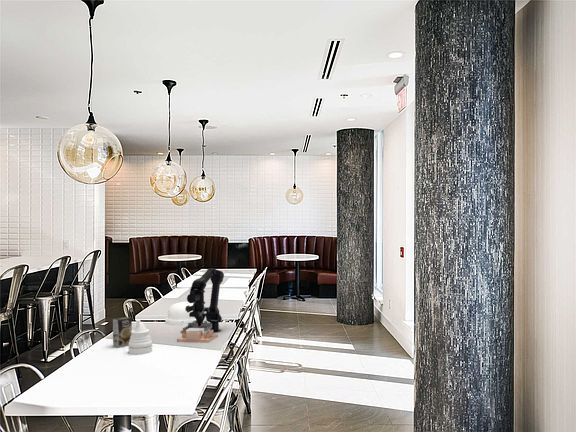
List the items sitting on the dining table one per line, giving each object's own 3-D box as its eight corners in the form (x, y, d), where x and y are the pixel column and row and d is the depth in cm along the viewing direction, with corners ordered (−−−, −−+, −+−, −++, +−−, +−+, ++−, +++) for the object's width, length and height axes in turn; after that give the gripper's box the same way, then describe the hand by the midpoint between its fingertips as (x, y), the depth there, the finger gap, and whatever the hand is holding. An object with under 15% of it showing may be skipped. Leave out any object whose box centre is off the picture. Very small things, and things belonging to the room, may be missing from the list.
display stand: (187, 335, 351) (187, 327, 351) (217, 336, 346) (217, 327, 346) (177, 341, 335) (176, 332, 335) (208, 342, 331) (207, 333, 331)
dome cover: (204, 325, 383) (203, 305, 383) (160, 326, 383) (160, 306, 383) (210, 317, 415) (210, 298, 415) (170, 318, 415) (169, 299, 415)
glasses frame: (189, 327, 348) (189, 320, 348) (212, 327, 344) (212, 320, 344) (182, 330, 338) (182, 323, 338) (205, 331, 334) (205, 324, 334)
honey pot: (146, 354, 305) (145, 321, 305) (124, 354, 307) (123, 321, 307) (156, 349, 317) (155, 317, 317) (135, 348, 320) (134, 317, 320)
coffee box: (119, 347, 323) (118, 320, 323) (112, 346, 327) (112, 319, 327) (132, 344, 330) (131, 317, 330) (125, 343, 334) (125, 316, 334)
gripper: (193, 298, 356) (193, 322, 356) (180, 303, 337) (181, 328, 338) (209, 298, 353) (210, 323, 353) (198, 303, 335) (198, 329, 335)
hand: (200, 325), depth 345 cm, fingers closed on glasses frame, 2 cm apart
